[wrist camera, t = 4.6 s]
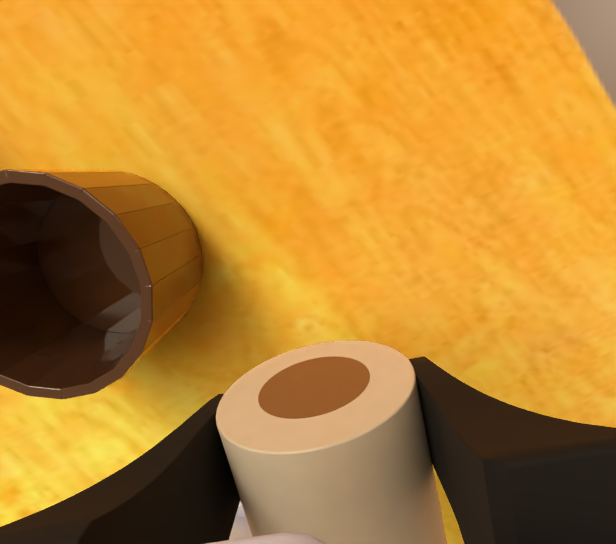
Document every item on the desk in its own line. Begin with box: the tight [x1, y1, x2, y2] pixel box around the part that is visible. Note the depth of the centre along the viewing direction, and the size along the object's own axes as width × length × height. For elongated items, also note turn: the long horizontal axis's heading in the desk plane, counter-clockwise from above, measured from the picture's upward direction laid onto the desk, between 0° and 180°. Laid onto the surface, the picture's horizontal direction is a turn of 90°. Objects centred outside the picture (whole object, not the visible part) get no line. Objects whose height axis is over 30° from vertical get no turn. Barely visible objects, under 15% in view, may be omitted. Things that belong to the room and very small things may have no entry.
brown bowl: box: [0, 169, 203, 399], centre depth 19 cm, size 9×9×6 cm
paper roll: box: [216, 340, 447, 544], centre depth 12 cm, size 9×6×6 cm, turn 13°
